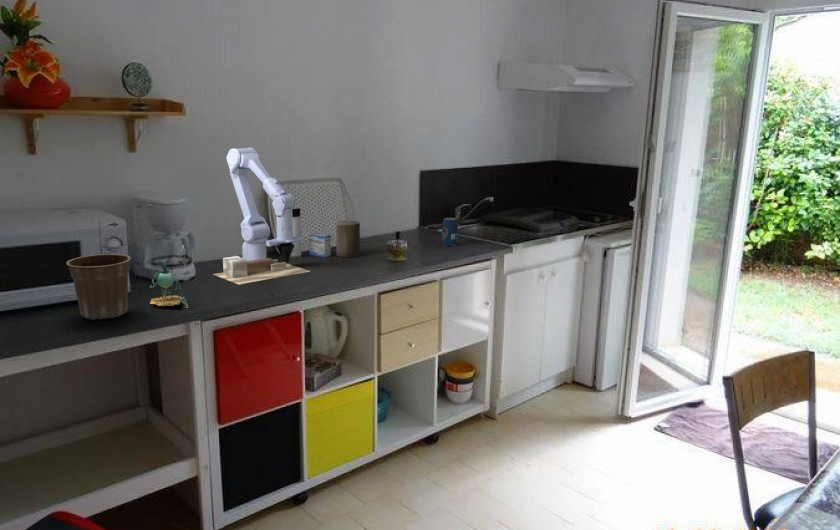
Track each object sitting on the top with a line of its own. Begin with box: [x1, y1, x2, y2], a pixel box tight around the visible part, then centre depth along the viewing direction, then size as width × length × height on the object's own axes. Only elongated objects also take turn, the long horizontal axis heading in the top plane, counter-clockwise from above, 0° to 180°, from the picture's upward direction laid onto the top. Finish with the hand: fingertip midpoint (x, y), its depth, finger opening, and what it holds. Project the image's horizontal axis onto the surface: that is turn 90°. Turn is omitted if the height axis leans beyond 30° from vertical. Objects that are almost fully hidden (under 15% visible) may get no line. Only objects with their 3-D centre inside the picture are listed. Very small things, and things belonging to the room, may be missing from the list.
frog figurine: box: [149, 260, 189, 308], centre depth 200 cm, size 10×18×15 cm, turn 44°
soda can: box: [441, 217, 459, 245], centre depth 298 cm, size 7×7×12 cm
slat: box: [247, 257, 274, 275], centre depth 237 cm, size 3×16×4 cm, turn 134°
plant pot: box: [66, 253, 132, 319], centre depth 188 cm, size 16×16×16 cm
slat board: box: [212, 255, 311, 285], centre depth 237 cm, size 18×29×7 cm, turn 134°
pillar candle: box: [335, 220, 361, 259], centre depth 271 cm, size 10×10×15 cm
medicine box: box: [308, 233, 332, 258], centre depth 271 cm, size 8×4×9 cm, turn 62°
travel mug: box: [290, 207, 302, 259], centre depth 266 cm, size 6×7×20 cm
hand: (285, 263), depth 246 cm, fingers closed
